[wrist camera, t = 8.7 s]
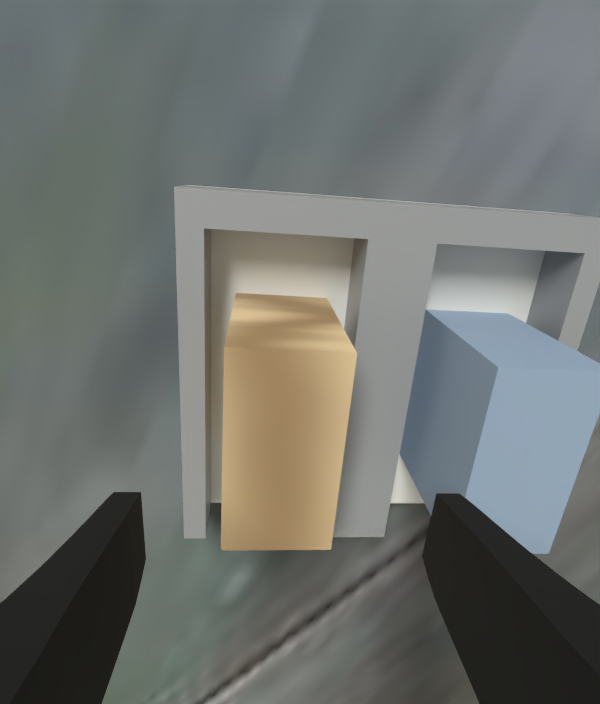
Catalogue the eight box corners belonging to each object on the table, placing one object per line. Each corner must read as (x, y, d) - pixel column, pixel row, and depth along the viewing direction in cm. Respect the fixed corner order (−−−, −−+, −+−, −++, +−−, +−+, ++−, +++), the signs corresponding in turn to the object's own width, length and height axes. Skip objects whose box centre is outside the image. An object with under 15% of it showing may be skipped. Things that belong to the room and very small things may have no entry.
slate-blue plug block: (507, 313, 19) (614, 371, 13) (472, 454, 21) (548, 553, 16) (425, 309, 18) (498, 367, 13) (399, 453, 21) (450, 554, 15)
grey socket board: (563, 213, 18) (619, 219, 15) (486, 492, 23) (517, 535, 20) (188, 184, 16) (174, 186, 14) (194, 491, 21) (184, 538, 19)
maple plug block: (326, 297, 18) (357, 353, 12) (311, 447, 20) (330, 549, 15) (236, 292, 17) (224, 347, 12) (231, 445, 20) (220, 550, 14)
